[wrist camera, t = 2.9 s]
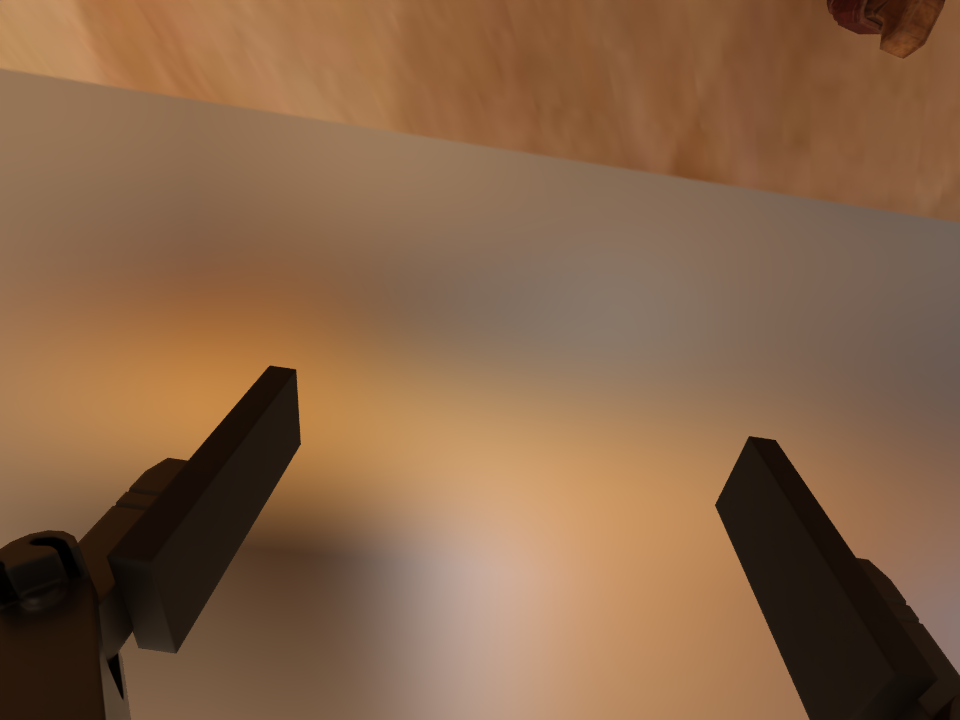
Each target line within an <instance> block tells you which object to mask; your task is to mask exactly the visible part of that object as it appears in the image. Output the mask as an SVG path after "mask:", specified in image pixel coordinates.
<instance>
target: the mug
mask: <svg viewBox="0 0 960 720" xmlns="http://www.w3.org/2000/svg"><path fill="white" fill-rule="evenodd" d="M944 2H945V0H827V6H828V10H829V13H831V14H832V15H833V18H834V20H835V21H837V22H838V25H839V26H842V27H844V28H846V29H848V30H850V31H853V32H855V33H857V34H882V36H881V43H880V49H881V50H884V51H886V52H888V53H890V54H893V55H895V56H897V57H900V58H905V57H907V56H908V55H910V54H911V53H913V52H914V51H916V50H917V49H918V48H920V47H921V46H923V45H924V44H925V42H926V40H927V38H928V36H929V34H930V32H931V30H932V28H933V26H934V24H935V22H936V20H937V18H938V16H939V14H940V12H941V10H942V8H943V5H944Z"/></svg>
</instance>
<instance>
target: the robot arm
mask: <svg viewBox="0 0 960 720" xmlns="http://www.w3.org/2000/svg"><path fill="white" fill-rule="evenodd" d="M300 442H301V441H300V424H299V409H298V392H297V375H296V369H290V368H283V367H276V366H269V367H268V368H267V369H266V370H265V372H264V373H263V374H262V375H261V376H260V378H259V379H258V380H257V381H256V382H255V383H254V384H253V386H252V387H251V388H250V389H249V390H248V392H247V393H246V394H245V395H244V396H243V397H242V399H241V400H240V401H239V402H238V403H237V404H236V405H235V407H234V408H233V409H232V410H231V411H230V413H229V414H228V415H227V416H226V417H225V418H224V419H223V421H222V422H221V423H220V424H219V425H218V426H217V428H216V429H215V430H214V431H213V432H212V433H211V435H210V436H209V437H208V438H207V439H206V440H205V442H204V443H203V444H202V445H201V446H200V448H199V449H198V450H197V451H196V452H195V453H194V454H193V456H192V457H191V458H190V460H188V461H186V460H180V459H172V458H167V459H165V460H163V461H162V462H160V463H158V464H157V465H155V466H153V467H152V468H150V469H148V470H147V471H145V472H144V473H143V474H142V475H141V476H140V478H139V479H138V480H137V481H136V482H135V483H134V484H133V485H132V486H131V487H130V489H129V491H128V492H126V493H125V494H124V495H123V496H122V497H121V498H120V499H119V500H118V501H117V502H116V505H115V506H112V507H111V509H109V511H108V512H107V513H106V514H105V515H104V516H103V517H102V518H101V519H100V520H99V521H98V522H97V523H96V524H95V525H94V526H93V528H92V529H91V530H90V531H89V532H88V533H87V534H86V535H85V536H84V537H83V538H82V539H81V540H80V541H79V543H77V541H76V539H75V537H74V536H72V535H70V534H68V533H66V532H64V531H49V530H48V531H43V532H39V533H33V534H29V535H27V536H24V537H22V538H19V539H17V540H15V541H12V542H10V543H9V544H7V545H6V546H4V547H3V548H1V549H0V720H131V717H130V710H129V702H128V695H127V689H126V681H125V675H124V667H123V661H122V656H121V653H120V651H119V650H120V649H121V647H122V646H123V644H124V643H125V641H126V640H127V639H128V637H129V636H130V634H131V633H132V631H133V633H134V636H135V639H136V642H137V645H138V648H142V649H149V650H156V651H163V652H170V653H177V651H178V650H179V648H180V646H181V645H182V643H183V641H184V640H185V638H186V636H187V635H188V633H189V631H190V630H191V628H192V626H193V625H194V623H195V621H196V620H197V618H198V616H199V614H200V613H201V611H202V609H203V608H204V606H205V604H206V603H207V601H208V599H209V598H210V596H211V594H212V592H213V591H214V589H215V587H216V586H217V584H218V582H219V581H220V579H221V577H222V576H223V574H224V572H225V571H226V569H227V567H228V566H229V564H230V562H231V561H232V559H233V557H234V556H235V554H236V552H237V550H238V549H239V547H240V545H241V544H242V542H243V540H244V539H245V537H246V535H247V534H248V532H249V530H250V529H251V527H252V525H253V524H254V522H255V520H256V519H257V517H258V515H259V513H260V512H261V510H262V508H263V507H264V505H265V503H266V502H267V500H268V498H269V497H270V495H271V493H272V492H273V490H274V488H275V487H276V485H277V483H278V481H279V480H280V478H281V477H282V475H283V473H284V471H285V470H286V468H287V466H288V465H289V463H290V461H291V460H292V458H293V456H294V454H295V453H296V451H297V450H298V448H299V446H300V445H301V443H300ZM715 506H716V508H717V511H718V513H719V515H720V517H721V520H722V522H723V524H724V527H725V529H726V531H727V533H728V536H729V538H730V540H731V542H732V545H733V547H734V549H735V552H736V554H737V556H738V558H739V560H740V563H741V565H742V567H743V569H744V572H745V574H746V576H747V579H748V581H749V583H750V586H751V588H752V590H753V592H754V595H755V597H756V599H757V601H758V604H759V606H760V608H761V610H762V613H763V614H764V617H765V619H766V622H767V624H768V626H769V629H770V631H771V633H772V635H773V638H774V640H775V642H776V644H777V647H778V649H779V651H780V653H781V656H782V658H783V660H784V662H785V665H786V667H787V669H788V672H789V674H790V676H791V678H792V680H793V683H794V685H795V687H796V690H797V691H798V694H799V696H800V699H801V701H802V703H803V706H804V708H805V710H806V712H807V715H808V717H809V719H810V720H960V675H959V674H958V673H957V671H956V670H955V668H954V667H953V666H952V664H951V663H950V662H949V660H948V659H947V657H946V656H945V654H944V653H943V652H942V650H941V649H940V648H939V646H938V645H937V643H936V642H935V641H934V639H933V638H932V636H931V635H930V634H929V632H928V631H927V630H926V628H925V627H924V625H923V624H920V623H919V619H918V617H917V616H916V614H915V613H914V612H913V610H912V609H911V607H910V606H908V605H906V600H905V599H904V598H903V596H902V595H901V594H900V592H899V591H898V589H897V588H896V587H895V585H894V584H893V583H892V581H891V580H890V579H889V578H888V577H887V576H886V575H885V574H883V572H881V571H880V570H879V569H878V568H877V567H876V566H875V565H873V564H872V563H871V562H870V561H869V560H867V559H860V558H856V557H855V556H854V554H853V553H852V551H851V550H850V548H849V547H848V545H847V544H846V542H845V541H844V540H843V538H842V537H841V535H840V534H839V532H838V531H837V529H836V528H835V526H834V525H833V524H832V522H831V520H830V519H829V518H828V516H827V515H826V514H825V512H824V510H823V509H822V507H821V506H820V505H819V503H818V501H817V500H816V499H815V497H814V496H813V494H812V493H811V491H810V490H809V488H808V487H807V485H806V484H805V482H804V481H803V480H802V478H801V477H800V475H799V474H798V472H797V471H796V469H795V468H794V466H793V465H792V464H791V462H790V460H789V459H788V458H787V456H786V455H785V453H784V452H783V450H782V449H781V448H780V446H779V444H778V443H777V442H776V440H771V439H764V438H758V437H751V436H749V437H748V439H747V442H746V444H745V446H744V448H743V450H742V452H741V454H740V456H739V458H738V460H737V462H736V464H735V466H734V468H733V470H732V472H731V474H730V476H729V478H728V480H727V482H726V484H725V486H724V488H723V490H722V492H721V494H720V496H719V498H718V500H717V502H716V504H715Z"/></svg>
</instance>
